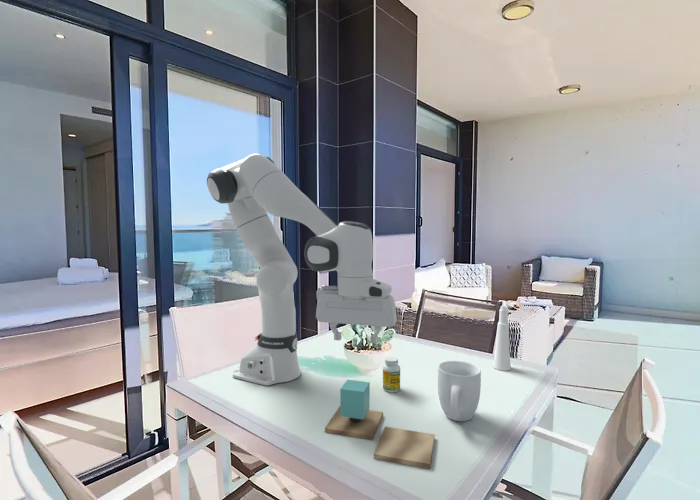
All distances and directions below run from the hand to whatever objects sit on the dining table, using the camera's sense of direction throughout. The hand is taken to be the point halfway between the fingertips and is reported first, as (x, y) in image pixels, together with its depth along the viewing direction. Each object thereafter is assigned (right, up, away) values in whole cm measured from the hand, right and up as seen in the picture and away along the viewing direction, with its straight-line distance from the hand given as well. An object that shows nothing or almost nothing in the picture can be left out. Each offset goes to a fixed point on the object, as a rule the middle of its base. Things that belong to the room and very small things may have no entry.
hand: (355, 341), depth 99 cm
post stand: (0, -21, +2) cm, 22 cm away
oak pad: (+11, -22, -9) cm, 27 cm away
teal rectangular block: (0, -18, +2) cm, 19 cm away
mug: (+27, -22, +5) cm, 35 cm away
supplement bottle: (+11, -20, +22) cm, 32 cm away
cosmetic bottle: (+52, -19, +40) cm, 69 cm away
